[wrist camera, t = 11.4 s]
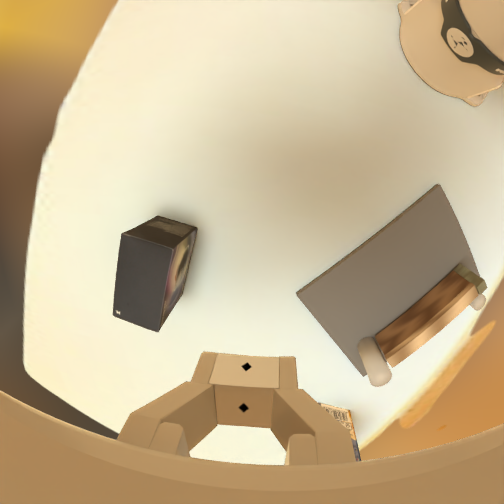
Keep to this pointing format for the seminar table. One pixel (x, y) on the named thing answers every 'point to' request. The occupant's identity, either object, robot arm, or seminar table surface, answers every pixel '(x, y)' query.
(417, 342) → the gate
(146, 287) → the small box
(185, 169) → the seminar table surface
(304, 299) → the grey board with posts
